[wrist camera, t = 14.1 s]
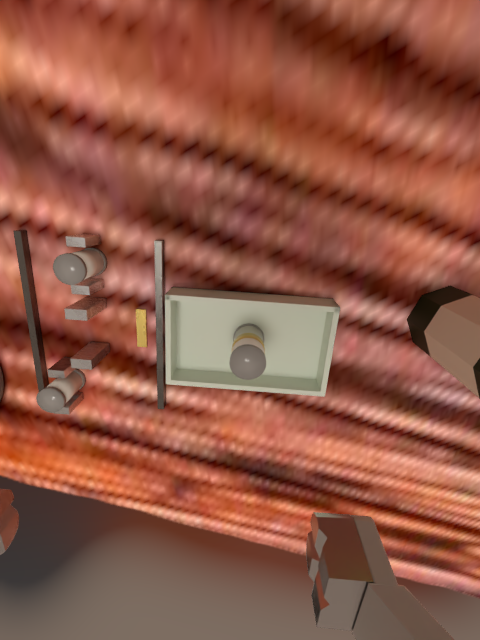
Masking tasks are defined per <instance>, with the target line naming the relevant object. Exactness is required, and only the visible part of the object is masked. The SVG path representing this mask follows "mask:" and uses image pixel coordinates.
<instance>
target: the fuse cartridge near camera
mask: <svg viewBox="0 0 480 640" xmlns="http://www.w3.org/2000/svg"><path fill="white" fill-rule="evenodd" d="M85 382H86V378H85V375H84V374H83V372H82V371H80V370H79V369H77V368H76V369H75V370H74V371H72V372H71V373H70V374H69V375H68V376H67V377H66V378H56V379H55V380H54V381H53V382H52V383H51V384H49V385H48V386H47V387H46V388H44V389H42V390H41V391H40V392H39V393H38V394H37V403H38V405H39V406H40V407H41V408H42V409H43V410H45V411H47V412H51V413H55V412H58V411H60V410H61V409H62V408H63V407H64V406H65V404H66V403H67V401H68V400H69V399H70V398H71V397H72V396H73V395H74V394H75V393H76V392H77V391H78V390H80V389H81V388H82V387H83V386H84V385H85Z"/></svg>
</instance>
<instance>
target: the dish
mask: <svg viewBox="0 0 480 640" xmlns="http://www.w3.org/2000/svg"><path fill="white" fill-rule="evenodd" d="M3 387H4V382H3V374H2V371H1V367H0V400H1V398H2V394H3Z"/></svg>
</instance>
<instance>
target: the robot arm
mask: <svg viewBox="0 0 480 640" xmlns="http://www.w3.org/2000/svg"><path fill="white" fill-rule="evenodd" d="M13 500H14V497H13V494H12V491H11V490H5V489H0V555H1V554H2V553H4V552H5V551H6V550H7V548H8V546H9V545H10V543H11V542H12V541H13V539H14V536H15V534H16V531H17V528H18V523H19V516H18V512H17V510H15V509H14V508H13V507H12V506H11V505H10V504H11V503H12V501H13ZM311 528H312V531H311V532H310V533H308V537H307V548H306V556H307V567H308V574H309V576H310V577H311V579H312V580H313V581H314V586H313V591H312V600H313V607H314V613H315V620H316V626H317V627H320V628H329V629H338V630H346V631H353V632H352V634H353V636H354V637H355V639H356V640H454V639H453V638H452V637H451V635H449V633H448V632H446V630H445V629H444V628H443V627H442V626H441V625H440V624H439V623H438V622H437V621H436V619H435V618H434V617H433V616H432V615H431V614H430V613H429V612H428V611H427V610H426V609H425V608H424V606H423V605H422V604H421V603H420V602H419V601H418V600H417V599H416V598H415V597H414V596H413V595H412V594H411V592H410V591H409V590H408V589H407V588H406V587H405V586H402V585H398V584H397V581H396V578H395V576H394V573H393V570H392V568H391V565H390V562H389V560H388V557H387V555H386V552H385V549H384V547H383V544H382V541H381V539H380V536H379V533H378V531H377V528H376V526H375V523H374V521H373V519H372V518H371V517H368V516H354V515H348V514H331V513H315V512H314V513H313V514H312V517H311Z"/></svg>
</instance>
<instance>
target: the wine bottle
mask: <svg viewBox="0 0 480 640" xmlns="http://www.w3.org/2000/svg"><path fill="white" fill-rule="evenodd" d="M407 321H408V325H409V329H410V332H411V336H412V340H413V342H414V343H415V344H416V345H417V346H419V347H420V348H421V349H422V350H423V351H424V352H426V353H427V354H428V355H429V356H430V357H432V358H433V359H434V360H435V361H436V362H437V363H439V364H440V365H441V366H442V367H443V368H444V369H446V370H447V371H448V372H449V373H450V374H452V375H453V376H454V377H455V378H456V379H457V380H459V381H460V382H461V383H462V384H463V385H465V386H466V387H467V388H468V389H469V390H470V391H472V392H473V393H474V394H475V395H476V396H478V397H479V398H480V298H479V297H477V296H474V295H472V294H469V293H467V292H464V291H462V290H459V289H457V288H454V287H452V286H448V287H445V288H442V289H439V290H436V291H433V292H431V293H428V294H425V295H422V296H421V298H420V299H419V301H418V303H417V304H416V306H415V307H414V309H413V310H412V312H411V314H410V315H409V317H408V318H407Z"/></svg>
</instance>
